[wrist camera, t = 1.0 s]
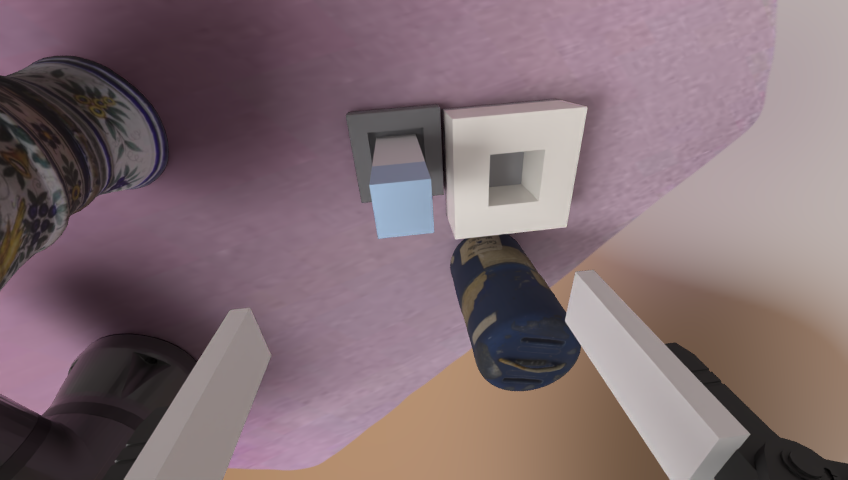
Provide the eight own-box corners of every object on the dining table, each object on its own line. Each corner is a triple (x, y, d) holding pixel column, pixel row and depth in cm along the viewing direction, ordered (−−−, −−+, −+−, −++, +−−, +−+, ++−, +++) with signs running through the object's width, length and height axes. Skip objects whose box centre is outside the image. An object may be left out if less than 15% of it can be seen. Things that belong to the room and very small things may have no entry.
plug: (381, 175, 35) (378, 238, 23) (376, 137, 33) (369, 185, 20) (418, 171, 35) (434, 232, 23) (415, 133, 33) (431, 178, 21)
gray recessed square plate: (363, 196, 36) (361, 203, 35) (348, 112, 32) (345, 115, 30) (441, 188, 37) (443, 194, 35) (437, 104, 32) (440, 107, 31)
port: (446, 214, 39) (455, 239, 33) (442, 109, 33) (452, 119, 27) (543, 204, 39) (566, 227, 34) (556, 98, 33) (587, 106, 28)
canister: (493, 293, 46) (548, 416, 30) (435, 273, 43) (461, 397, 27) (532, 240, 42) (617, 349, 26) (470, 214, 39) (525, 319, 23)
